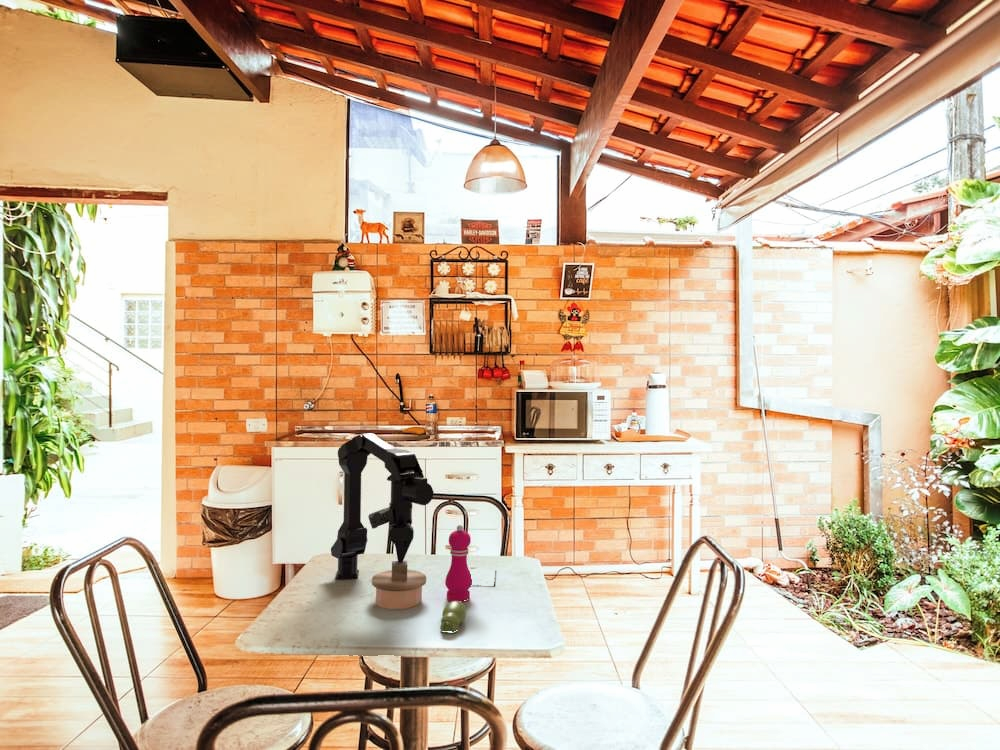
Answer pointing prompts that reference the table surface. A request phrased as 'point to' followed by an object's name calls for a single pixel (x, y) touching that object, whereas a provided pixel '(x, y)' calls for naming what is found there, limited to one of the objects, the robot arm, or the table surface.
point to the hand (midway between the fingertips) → (400, 557)
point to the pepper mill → (459, 566)
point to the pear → (453, 616)
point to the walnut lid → (399, 578)
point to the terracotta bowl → (398, 598)
